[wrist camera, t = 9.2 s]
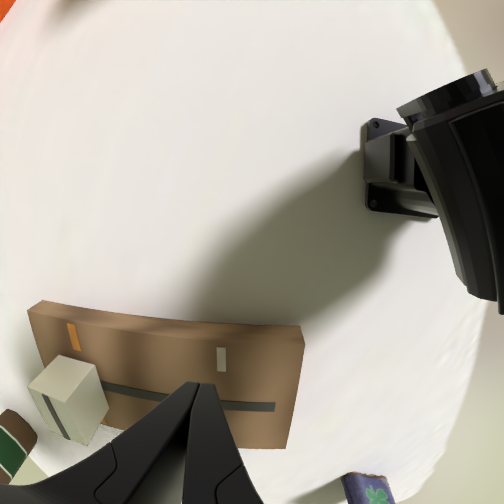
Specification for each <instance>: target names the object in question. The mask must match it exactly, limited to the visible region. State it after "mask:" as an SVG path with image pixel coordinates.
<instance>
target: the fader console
mask: <svg viewBox="0 0 504 504" xmlns="http://www.w3.org/2000/svg"><path fill="white" fill-rule="evenodd" d="M27 312H28V316H29V320H30V324H31V327H32V331H33V334H34V338H35V341H36V344H37V347H38V350H39V353H40V356H41V359H42V362H43V364H44V367H45V368H46V367H47V366H48V365H49V364H50V363H51V362H52V361H53V360H54V359H55V358H56V357H57V356H58V355H61V356H65V357H68V358H72V359H75V360H79V361H82V362H86V363H90V364H94V365H95V366H96V370H97V373H98V376H99V380H100V383H101V386H102V389H103V392H104V395H105V398H106V401H107V403H108V406H109V409H108V411H107V413H106V415H105V416H104V418H103V420H102V421H101V423H100V424H103V425H107V426H110V427H114V428H117V429H121V430H126V429H128V428H129V427H130V426H132V425H133V424H134V423H135V422H137V421H138V420H139V419H141V418H142V417H143V416H144V415H146V414H147V413H148V412H149V411H151V410H152V409H153V408H154V407H156V406H157V405H158V404H159V403H160V402H162V401H163V400H164V399H165V398H167V397H168V396H169V395H170V394H171V393H173V392H174V391H175V390H176V389H177V388H179V387H180V386H181V385H182V384H183V383H185V382H186V381H194V382H199V383H200V384H201V383H213V384H215V386H216V389H217V392H218V395H219V398H220V401H221V404H222V407H223V410H224V413H225V415H226V418H227V421H228V424H229V427H230V429H231V432H232V435H233V437H234V440H235V443H236V445H237V448H246V449H286V444H287V440H288V435H289V430H290V426H291V421H292V416H293V411H294V406H295V401H296V395H297V390H298V384H299V379H300V373H301V367H302V361H303V354H304V348H305V341H304V338H303V335H302V331H301V328H300V326H266V325H241V324H223V323H208V322H195V321H183V320H173V319H163V318H153V317H145V316H136V315H128V314H121V313H114V312H107V311H100V310H94V309H88V308H82V307H76V306H70V305H65V304H59V303H54V302H49V301H44V300H42V301H41V302H39V303H38V304H36V305H35V306H33V307H31V308H30V309H28V310H27Z"/></svg>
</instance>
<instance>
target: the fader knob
mask: <svg viewBox="0 0 504 504" xmlns="http://www.w3.org/2000/svg"><path fill="white" fill-rule="evenodd" d="M27 387H28V389H29V391H30V394H31V396H32V398H33V400H34V402H35V404H36V406H37V408H38V409H39V411H40V413H41V415H42V417H43V419H44V420H45V422H46V424H47V426H48V427H49V429H50V431H53V432H55V433H57V434H59V435H61V436H64V438H66V439H68V440H73V441H75V442H78V443H81V444H83V445H86V446H88V444H89V442H90V440H91V439H92V437H93V435H94V433H95V432H96V430H97V428H98V427H99V425H100V423H101V421H102V420H103V418H104V416H105V415H106V413H107V411H108V409H109V406H108V403H107V401H106V398H105V395H104V392H103V389H102V386H101V383H100V380H99V376H98V373H97V370H96V366H95V365H94V364H90V363H86V362H82V361H79V360H75V359H72V358H68V357H65V356H61V355H58V356H57V357H56V358H55V359H54V360H53V361H52V362H51V363H50V364H49V365H48V366H47V367H46V368H45V369H44V370H43V371H42V372H41V373H40V374H39V375H38V376H37V377H36V378H35V379H34V380H33V381H32V382H31V383H30V384H29V385H28V386H27Z"/></svg>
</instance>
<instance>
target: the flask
mask: <svg viewBox="0 0 504 504" xmlns="http://www.w3.org/2000/svg"><path fill="white" fill-rule="evenodd" d="M341 480H342V483H343V486H344V490H345V495H346V498H347V501H348V504H395V502H394V498H393V496H392V493H391V490H390V487H389V484H388V482H387V478H386V477H384V476H382V475H381V476H376V475H374V474H373V475H372V474H370V475H366V474H361V473H358V472H350V473H347V474H345V475H343V476H342V477H341Z"/></svg>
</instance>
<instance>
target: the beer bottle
mask: <svg viewBox="0 0 504 504" xmlns="http://www.w3.org/2000/svg"><path fill="white" fill-rule="evenodd" d="M36 442H37V434H36V433H35V432H34V430H33V429H32V428H31V426H30V425H29V424H28V423H27V422H26V421H25V420H24V419H23V418H22V417H21V416H20V415H19V414H17V413H16V412H14V411H12V410H9V409H6V410H5V411H4V412H3V413H2V414H1V415H0V484H9V483H10V481H11V480H12V479H13V477H14V476H15V474H16V472H17V471H18V470H19V468H20V467H21V465H22V464H23V462H24V460H25V459H26V458H27V456H28V455H29V453H30V452H31V450H32V449H33V447H34V446H35V444H36Z"/></svg>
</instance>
